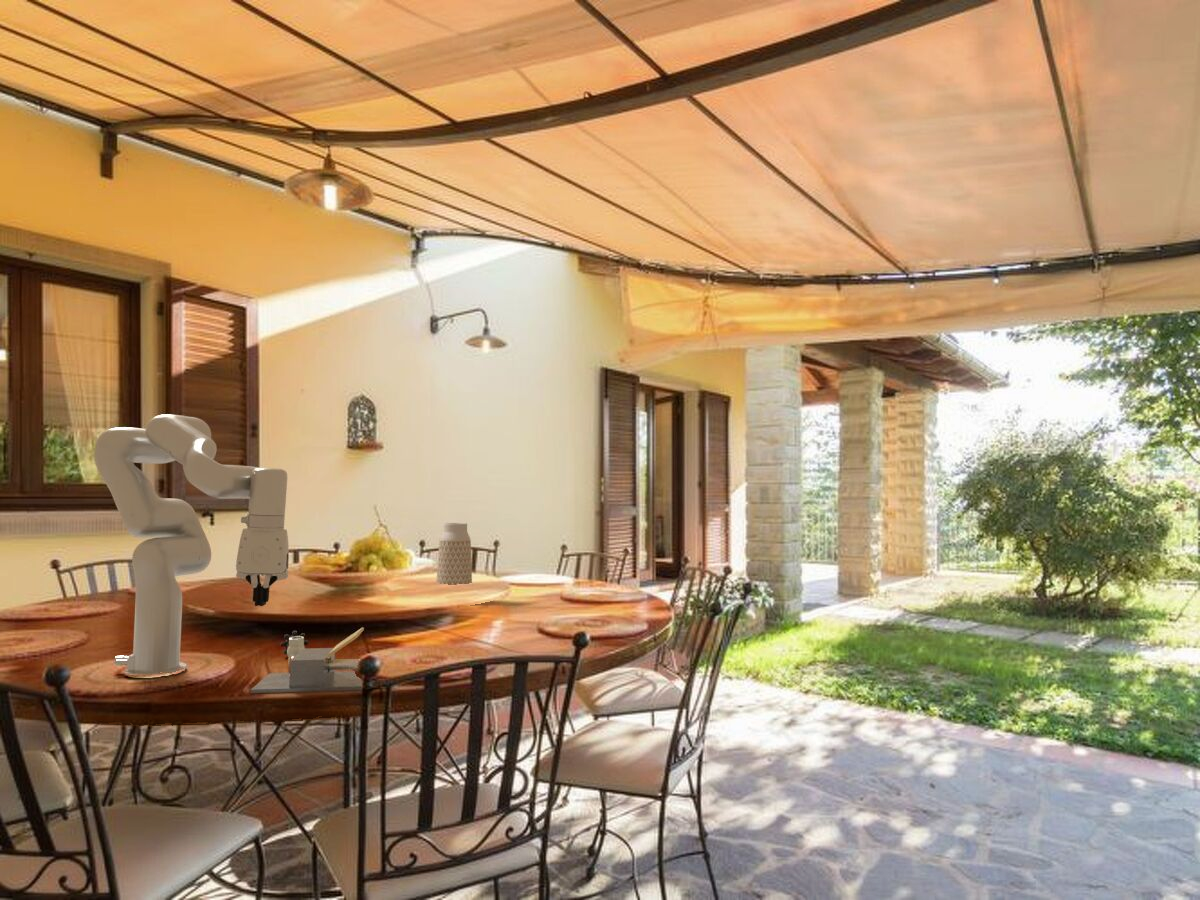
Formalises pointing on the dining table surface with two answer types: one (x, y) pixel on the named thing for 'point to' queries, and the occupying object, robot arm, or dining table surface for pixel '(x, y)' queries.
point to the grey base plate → (309, 675)
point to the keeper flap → (344, 643)
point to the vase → (454, 555)
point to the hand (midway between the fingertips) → (260, 604)
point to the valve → (294, 644)
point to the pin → (337, 664)
